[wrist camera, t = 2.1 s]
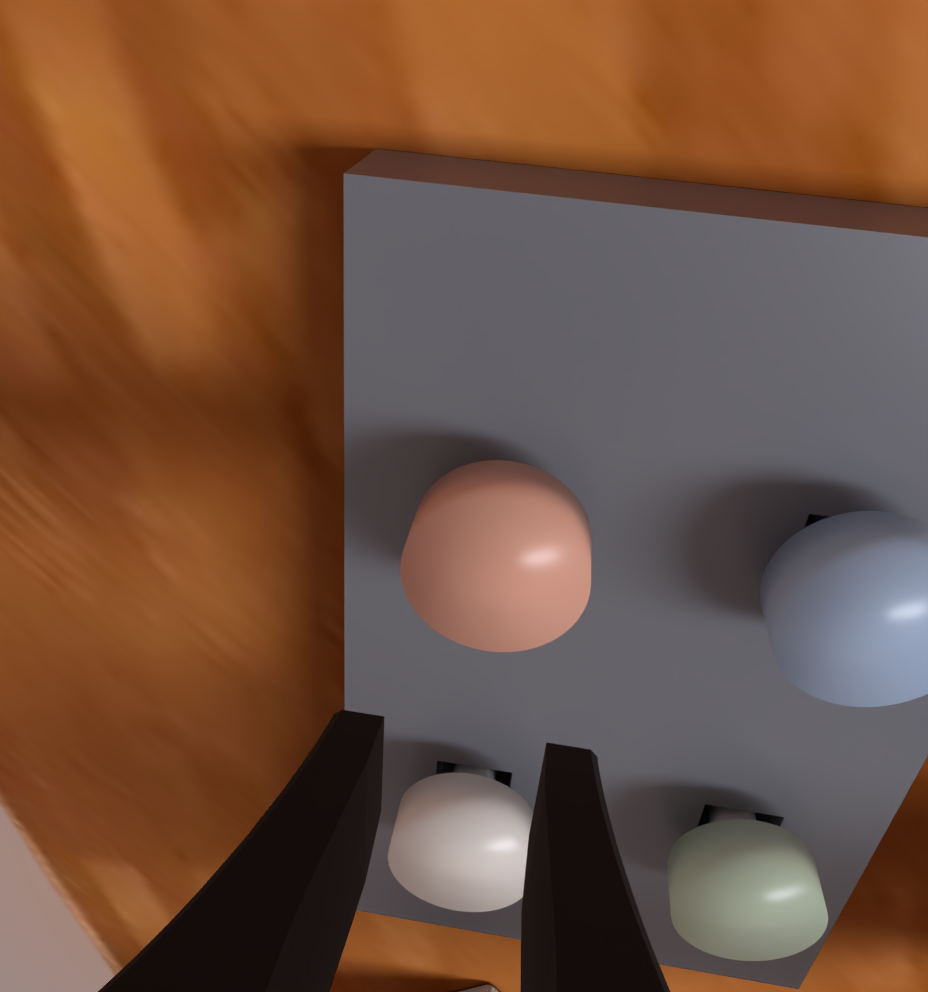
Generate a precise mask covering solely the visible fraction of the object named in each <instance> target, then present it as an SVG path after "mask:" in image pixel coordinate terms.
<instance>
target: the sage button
mask: <svg viewBox="0 0 928 992" xmlns="http://www.w3.org/2000/svg"><path fill="white" fill-rule="evenodd" d="M707 807H708V815H709V822H710V823H708V824H705V825H701V826H699V827H697V828H694V829H692V830H690V831H689V832H687V833H685V834H684V835H683V836H681V837H680V838H679V839H678V840H677V841H676V842H675V843H674V844H673V846H672V847H671V849H670V851H669V853H668V857H667V872H668V885H669V898H670V911H671V919H672V923H673V925H674V928H675V929H676V931H677V932H678V934H679V935H680V936H681V937H682V938H683V939H684V940H686V941H687V942H688V943H689V944H691V945H693V946H694V947H696V948H698V949H700V950H702V951H704V952H706V953H709V954H712V955H715V956H718V957H722V958H727V959H733V960H740V961H766V960H774V959H779V958H784V957H788V956H791V955H794V954H796V953H799V952H801V951H803V950H805V949H807V948H808V947H810V946H811V945H813V944H814V943H815V942H817V941H818V940H819V938H820V937H821V936H822V935H823V933H824V932H825V930H826V927H827V924H828V912H827V908H826V904H825V900H824V896H823V892H822V888H821V884H820V880H819V876H818V872H817V868H816V864H815V860H814V856H813V854H812V852H811V850H810V848H809V847H808V846H807V844H806V843H805V842H804V841H803V840H802V839H801V838H799V837H798V836H797V835H795V834H794V833H792V832H790V831H788V830H786V829H784V828H782V827H779V826H777V825H774V824H770V823H766V822H762V821H756V817H755V812H749V811H743V810H737V809H731V808H725V807H719V806H713V805H707Z"/></svg>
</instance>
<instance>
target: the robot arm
mask: <svg viewBox="0 0 928 992" xmlns="http://www.w3.org/2000/svg"><path fill="white" fill-rule="evenodd" d="M383 745H384V716H378V715H372V714H366V713H360V712H353V711H347V710H341V711H339V712H337V713H336V714H334V715H333V717H332V719H331V720H330V722H329V724H328V726H327V727H326V729H325V730H324V732H323V734H322V735H321V737H320V738H319V740H318V741H317V743H316V744H315V746H314V747H313V749H312V750H311V752H310V753H309V755H308V756H307V758H306V759H305V760H304V762H303V763H302V765H301V766H300V767H299V769H298V770H297V772H296V773H295V774H294V776H293V777H292V778H291V780H290V781H289V783H288V784H287V785H286V787H285V788H284V789H283V791H282V792H281V793H280V795H279V796H278V797H277V798H276V800H275V801H274V802H273V804H272V805H271V806H270V807H269V809H268V810H267V811H266V812H265V814H264V815H263V816H262V817H261V819H260V820H259V821H258V823H257V824H256V825H255V826H254V828H253V829H252V830H251V831H250V833H249V834H248V835H247V836H246V838H245V839H244V840H243V841H242V842H241V844H240V845H239V846H238V847H237V848H236V849H235V851H234V852H233V853H232V854H231V855H230V856H229V857H228V859H227V860H226V861H225V862H224V863H223V864H222V865H221V867H220V868H219V869H218V870H217V871H216V872H215V873H214V875H213V876H212V877H211V878H210V879H209V880H208V881H207V883H206V884H205V885H204V886H203V887H202V888H201V889H200V891H199V892H198V893H197V894H196V895H195V896H194V897H193V898H192V899H191V900H190V901H189V902H188V904H187V905H186V906H185V907H184V908H183V909H182V910H181V911H180V912H179V913H178V914H177V915H176V916H175V917H174V918H173V919H172V920H171V921H170V923H169V924H168V925H167V926H166V927H165V928H164V929H163V930H162V931H161V932H160V933H159V934H158V935H157V936H156V937H155V938H154V939H153V940H152V941H151V942H150V943H149V944H148V945H147V946H146V947H145V948H144V949H143V950H142V951H141V952H140V953H139V954H138V955H137V956H136V957H135V958H134V959H133V960H132V961H131V962H129V963H128V964H127V965H126V966H125V967H124V968H123V969H122V970H121V971H120V972H119V973H118V974H117V975H116V976H114V977H113V978H112V979H111V980H110V981H109V982H108V983H107V984H106V985H105V986H104V987H103V988H102V989H101V990H100V991H98V992H329V991H330V988H331V985H332V982H333V979H334V976H335V973H336V970H337V967H338V964H339V961H340V958H341V955H342V952H343V949H344V946H345V943H346V940H347V937H348V934H349V931H350V928H351V925H352V922H353V919H354V915H355V912H356V909H357V906H358V903H359V900H360V897H361V894H362V891H363V888H364V885H365V881H366V877H367V872H368V868H369V863H370V859H371V855H372V850H373V846H374V841H375V837H376V832H377V828H378V823H379V819H380V814H381V802H382V774H383ZM521 992H670V990H669V988H668V986H667V983H666V981H665V978H664V976H663V973H662V971H661V968H660V966H659V963H658V961H657V958H656V956H655V953H654V951H653V948H652V946H651V943H650V940H649V938H648V935H647V932H646V929H645V927H644V924H643V921H642V919H641V916H640V913H639V910H638V907H637V904H636V901H635V898H634V895H633V892H632V889H631V886H630V884H629V881H628V878H627V875H626V872H625V869H624V866H623V862H622V859H621V856H620V853H619V849H618V846H617V842H616V839H615V835H614V832H613V828H612V824H611V821H610V817H609V813H608V809H607V805H606V801H605V797H604V792H603V788H602V782H601V777H600V772H599V766H598V758H597V756H596V755H595V754H594V753H593V751H592V750H591V749H585V748H578V747H572V746H566V745H560V744H553V743H547V742H546V747H545V753H544V758H543V763H542V769H541V774H540V779H539V785H538V790H537V795H536V801H535V806H534V811H533V816H532V822H531V827H530V832H529V840H528V849H527V859H526V869H525V879H524V889H523V900H522V910H521Z"/></svg>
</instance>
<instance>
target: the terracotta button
mask: <svg viewBox="0 0 928 992" xmlns="http://www.w3.org/2000/svg"><path fill="white" fill-rule="evenodd" d="M591 553H592V538H591V528H590V523H589V520H588V517H587V514H586V512H585V510H584V508H583V506H582V504H581V503H580V501H579V500H578V498H577V497H576V496H575V495H574V493H573V492H572V491H571V490H570V489H569V488H568V487H567V486H566V485H565V484H563V483H562V482H561V481H559V480H558V479H557V478H555V477H554V476H552V475H550V474H549V473H547V472H545V471H543V470H541V469H538V468H536V467H534V466H530V465H527V464H524V463H519V462H514V461H506V460H486V461H480V462H474V463H470V464H467V465H463V466H461V467H459V468H456V469H454V470H452V471H450V472H449V473H447V474H445V475H444V476H442V477H441V478H440V479H439V480H437V481H436V482H435V483H434V484H433V485H432V486H431V487H430V488H429V489H428V491H427V492H426V493H425V495H424V496H423V498H422V500H421V502H420V504H419V506H418V509H417V512H416V515H415V517H414V520H413V523H412V526H411V529H410V532H409V535H408V538H407V541H406V544H405V546H404V550H403V553H402V557H401V565H400V571H401V580H402V585H403V588H404V591H405V594H406V596H407V598H408V600H409V602H410V604H411V606H412V607H413V608H414V610H415V611H416V613H417V614H418V615H419V616H420V617H421V618H422V619H423V620H424V622H426V623H427V624H428V625H429V626H430V627H431V628H433V629H434V630H435V631H437V632H438V633H440V634H441V635H443V636H445V637H446V638H448V639H450V640H452V641H454V642H457V643H459V644H461V645H464V646H467V647H471V648H474V649H479V650H484V651H491V652H516V651H523V650H528V649H533V648H536V647H539V646H542V645H544V644H547V643H549V642H551V641H553V640H555V639H556V638H558V637H560V636H561V635H563V634H564V633H565V632H566V631H568V630H569V629H570V628H571V627H572V626H573V625H574V624H575V623H576V622H577V620H578V619H579V617H580V616H581V614H582V613H583V611H584V609H585V607H586V605H587V602H588V599H589V595H590V589H591Z"/></svg>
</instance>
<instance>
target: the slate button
mask: <svg viewBox="0 0 928 992" xmlns="http://www.w3.org/2000/svg"><path fill="white" fill-rule="evenodd" d="M760 603H761V607H762V611H763V615H764V619H765V623H766V626H767V630H768V634H769V638H770V642H771V646H772V650H773V653H774V657H775V660H776V662H777V664H778V666H779V668H780V669H781V671H782V672H783V674H784V675H785V676H786V677H787V678H788V679H789V680H790V681H791V682H792V683H793V684H794V685H795V686H797V687H798V688H799V689H801V690H802V691H804V692H806V693H807V694H809V695H811V696H813V697H816V698H818V699H820V700H824V701H827V702H830V703H834V704H839V705H844V706H853V707H878V706H887V705H893V704H899V703H903V702H907V701H910V700H913V699H916V698H919V697H922V696H924V695H926V694H928V525H926V524H924V523H923V522H920V521H918V520H916V519H914V518H911V517H908V516H905V515H902V514H898V513H892V512H886V511H856V512H848V513H844V514H839V515H835V516H832V517H829V516H822V515H814V514H809V516H808V519H807V521H806V524H805V527H804V529H802V530H801V531H799V532H797V533H796V534H795V535H793V536H792V537H791V538H789V539H788V540H787V541H786V542H785V543H784V544H783V545H782V546H781V547H780V548H779V549H778V550H777V551H776V552H775V554H774V555H773V556H772V558H771V559H770V561H769V562H768V564H767V566H766V568H765V570H764V573H763V575H762V579H761V583H760Z"/></svg>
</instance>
